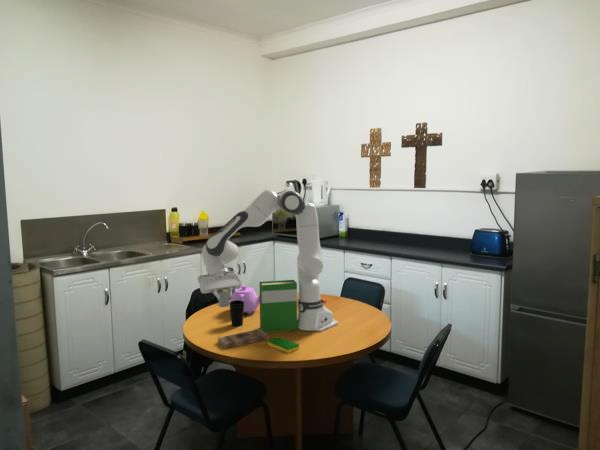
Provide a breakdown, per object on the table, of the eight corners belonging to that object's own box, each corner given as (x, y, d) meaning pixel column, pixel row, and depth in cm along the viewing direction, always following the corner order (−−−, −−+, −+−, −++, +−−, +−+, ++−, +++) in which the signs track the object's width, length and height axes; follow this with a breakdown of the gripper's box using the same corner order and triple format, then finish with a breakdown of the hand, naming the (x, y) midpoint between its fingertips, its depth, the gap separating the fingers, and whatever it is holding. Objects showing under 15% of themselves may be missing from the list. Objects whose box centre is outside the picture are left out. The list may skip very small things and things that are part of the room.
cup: (230, 328, 235) (230, 305, 233) (228, 323, 242) (228, 300, 240) (245, 326, 237) (245, 304, 235) (243, 321, 244) (243, 299, 242)
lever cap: (226, 304, 221) (227, 288, 220) (228, 306, 218) (230, 290, 218) (218, 305, 219) (219, 288, 218) (220, 307, 216) (222, 290, 215)
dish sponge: (278, 341, 218) (278, 336, 218) (299, 349, 208) (299, 344, 208) (267, 345, 213) (267, 340, 213) (288, 354, 203) (288, 348, 203)
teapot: (263, 318, 249) (263, 291, 248) (226, 318, 250) (226, 291, 248) (266, 307, 269) (266, 282, 267) (232, 307, 269) (232, 282, 267)
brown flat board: (260, 333, 227) (260, 328, 227) (268, 339, 219) (268, 334, 219) (218, 342, 215) (218, 337, 215) (226, 348, 208) (225, 343, 207)
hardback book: (262, 332, 228) (261, 285, 225) (260, 327, 235) (259, 281, 232) (297, 329, 232) (296, 283, 229) (293, 324, 239) (293, 279, 236)
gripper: (198, 272, 216) (206, 297, 209) (238, 267, 227) (246, 291, 220) (195, 279, 220) (202, 304, 214) (234, 274, 232) (242, 298, 225)
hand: (225, 297), depth 217 cm, fingers closed on lever cap, 4 cm apart
